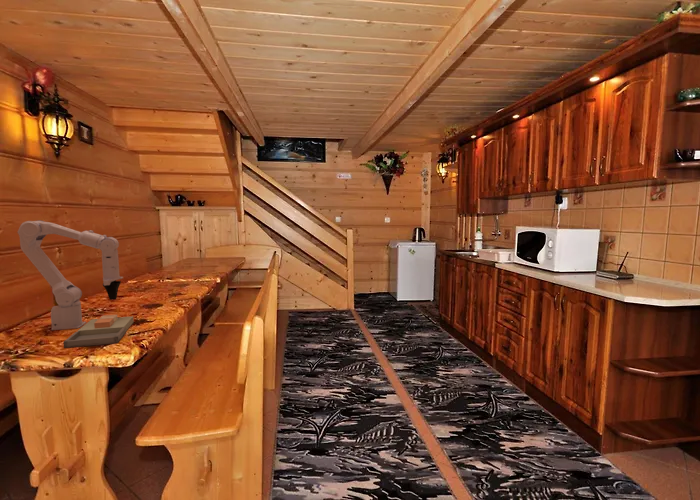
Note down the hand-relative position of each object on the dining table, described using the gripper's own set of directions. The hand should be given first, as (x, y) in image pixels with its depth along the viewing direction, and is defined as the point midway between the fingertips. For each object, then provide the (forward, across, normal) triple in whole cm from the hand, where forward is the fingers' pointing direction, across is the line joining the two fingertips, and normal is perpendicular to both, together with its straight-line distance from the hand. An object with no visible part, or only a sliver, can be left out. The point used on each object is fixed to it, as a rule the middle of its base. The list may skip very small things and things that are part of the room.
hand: (113, 299), depth 155 cm
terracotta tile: (+7, -13, 0) cm, 15 cm away
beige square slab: (+10, -10, 0) cm, 14 cm away
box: (+10, -22, 0) cm, 25 cm away
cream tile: (+7, -8, 0) cm, 10 cm away
